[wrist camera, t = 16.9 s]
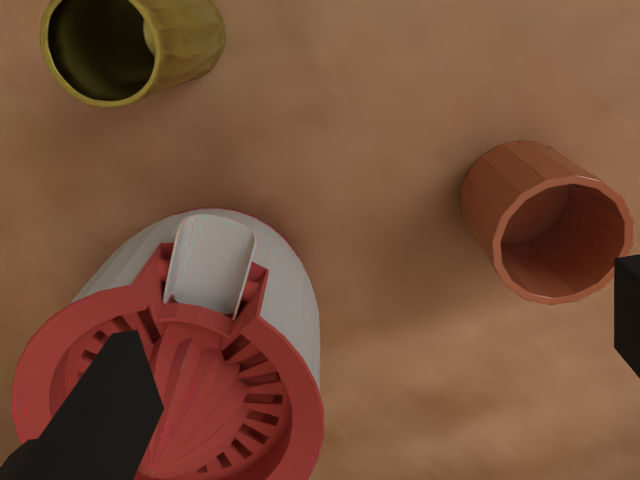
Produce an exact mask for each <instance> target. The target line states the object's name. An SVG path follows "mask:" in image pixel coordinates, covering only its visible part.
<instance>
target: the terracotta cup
mask: <svg viewBox="0 0 640 480" xmlns="http://www.w3.org/2000/svg"><path fill="white" fill-rule="evenodd" d="M460 206H461V212H462V215H463V219H464V220H465V222H466V224H467V226H468V227H469V229H470V231H471V232H472V234H473V236H474V237H475V239H476V241H477V242H478V244H479V245H480V247H481V248H482V250H483V252H484V253H485V255H486V256H487V258H488V259H489V261H490V263H491V264H492V266H493V267H494V269H495V271H496V272H497V274H498V275H499V277H500V278H501V280H502V282H503V283H504V285H505V286H506V287H507V288H509V289H510V290H511V291H513V292H514V293H516V294H517V295H519V296H520V297H522V298H523V299H525V300H528V301H533V302H538V303H543V304H548V305H555V304H562V303H569V302H575V301H579V300H580V299H582V298H584V297H586V296H588V295H590V294H592V293H594V292H596V291H598V290H600V289H602V288H603V287H604V286H605V285H606V284H607V283H608V282H609V281H610V280H611V279H612V278H613V277H614V258H619V257H626V256H628V254H629V252H630V249H631V247H632V244H633V217H632V215H631V213H630V211H629V209H628V207H627V205H626V202H625V200H624V198H623V197H622V195H620V194H619V193H618V192H616V191H615V190H614V189H612V188H611V187H610V186H608V185H607V184H606V183H605V182H603V181H602V180H600V179H599V178H597V177H596V176H594V175H592V174H591V173H589V172H588V171H586V170H585V169H583V168H582V167H580V166H578V165H577V164H575V163H574V162H572V161H571V160H569V159H568V158H566V157H565V156H563V155H561V154H560V153H558V152H557V151H555V150H554V149H552V148H551V147H549V146H545V145H543V144H540V143H536V142H531V141H515V142H510V143H505V144H503V145H500V146H497V147H495V148H493V149H492V150H490V151H488V152H487V153H485V154H484V155H483V156H482V157H481V158H479V159H478V160H477V161H476V163H475V164H474V165H473V166H472V167H471V169H470V170H469V172H468V174H467V175H466V177H465V180H464V182H463V185H462V189H461V195H460Z"/></svg>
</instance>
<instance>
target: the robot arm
mask: <svg viewBox="0 0 640 480" xmlns="http://www.w3.org/2000/svg"><path fill="white" fill-rule="evenodd" d="M614 348H615V349H616V350H617V351H618V353H619V354H620V355H621V356H622V358H623V359H624V360H625V361H626V362H627V364H628V365H629V366H630V367H631V368H632V370H633V371H634V372H635V373H636V375H637V376H638V377H639V378H640V254H639V255H632V256H626V257H619V258H614ZM163 411H164V406H163V403H162V400H161V397H160V395H159V392H158V389H157V386H156V383H155V380H154V377H153V374H152V371H151V368H150V365H149V362H148V359H147V356H146V353H145V350H144V347H143V344H142V341H141V338H140V335H139V332H138V330H131V331H124V332H117V333H112V334H111V335H110V337H109V338H108V340H107V341H106V342H105V344H104V345H103V347H102V348H101V350H100V351H99V352H98V354H97V355H96V357H95V358H94V360H93V361H92V362H91V364H90V365H89V367H88V368H87V369H86V371H85V372H84V374H83V375H82V377H81V378H80V379H79V381H78V382H77V384H76V385H75V387H74V388H73V389H72V391H71V392H70V394H69V395H68V397H67V398H66V399H65V401H64V402H63V404H62V405H61V406H60V408H59V409H58V411H57V412H56V414H55V415H54V416H53V418H52V419H51V421H50V422H49V424H48V425H47V426H46V428H45V429H44V431H43V432H42V434H41V435H40V436H39V438H37V439H29V440H27V441H26V442H25V443H24V444H23V445H21V446H20V447H19V448H18V449H17V450H15V451H14V452H13V453H12V454H11V455H10V456H9V457H8V458H7V459H6V461H5V462H4V463H3V465H2V466H1V467H0V480H133V479H134V477H135V475H136V472H137V470H138V468H139V465H140V463H141V461H142V459H143V456H144V454H145V452H146V449H147V447H148V445H149V443H150V440H151V438H152V436H153V433H154V431H155V429H156V427H157V424H158V422H159V420H160V417H161V415H162V413H163Z"/></svg>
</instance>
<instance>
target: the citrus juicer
mask: <svg viewBox="0 0 640 480" xmlns="http://www.w3.org/2000/svg"><path fill="white" fill-rule="evenodd" d="M131 330H138V332H139V335H140V338H141V341H142V344H143V347H144V350H145V353H146V356H147V359H148V362H149V365H150V368H151V371H152V374H153V377H154V380H155V383H156V386H157V389H158V392H159V395H160V397H161V400H162V403H163V406H164V411H163V413H162V415H161V417H160V420H159V422H158V424H157V427H156V429H155V431H154V433H153V436H152V438H151V440H150V443H149V445H148V447H147V449H146V452H145V454H144V456H143V459H142V461H141V463H140V465H139V468H138V470H137V472H136V475H135V477H134V479H133V480H308V478H309V477H310V474H311V472H312V470H313V468H314V466H315V464H316V462H317V460H318V458H319V455H320V451H321V446H322V442H323V437H324V408H323V404H322V400H321V397H320V393H319V385H320V323H319V312H318V306H317V302H316V298H315V295H314V291H313V288H312V285H311V282H310V279H309V277H308V275H307V273H306V271H305V269H304V266H303V265H302V263H301V261H300V259H299V257H298V255H297V253H296V251H295V250H294V249H293V247H292V246H291V245H290V243H289V242H288V241H287V240H286V238H285V237H283V236H282V235H281V234H280V233H279V232H278V231H277V230H275V229H274V228H273V227H272V226H270V225H269V224H267V223H265V222H264V221H262V220H260V219H258V218H257V217H255V216H252V215H250V214H247V213H244V212H241V211H238V210H233V209H226V208H220V207H206V208H196V209H191V210H187V211H182V212H180V213H177V214H175V215H172V216H170V217H167V218H165V219H163V220H161V221H158V222H156V223H154V224H152V225H150V226H148V227H146V228H145V229H143V230H141V231H140V232H138V233H137V234H136V235H134V236H133V237H131V238H130V239H129V240H127V241H126V242H124V243H123V244H122V245H121V246H120V247H119V248H118V249H117V250H116V251H115V252H114V253H113V254H112V255H111V256H110V257H109V258H108V259H107V260H106V261H105V263H104V264H103V265H102V266H101V267H100V268H99V269H98V270H97V272H96V273H95V274H94V275H93V276H92V277H91V279H90V280H89V281H88V282H87V283H86V284H85V286H84V287H83V288H82V289H81V290H80V291H79V293H78V294H77V295H76V296H75V297H74V298H73V300H72V301H71V302H70V303H69V304H68V305H67V306H66V307H65V308H63V309H62V310H60V311H59V312H57V313H56V314H55V315H53V316H52V317H50V318H49V319H48V320H47V321H46V322H45V323H44V324H43V325H42V326H41V327H40V329H39V330H38V331H37V332H36V333H35V334H34V335H33V336H32V338H31V339H30V340H29V342H28V344H27V345H26V347H25V349H24V351H23V353H22V355H21V357H20V359H19V361H18V363H17V367H16V372H15V377H14V381H13V386H12V416H13V420H14V423H15V427H16V430H17V434H18V438H19V441H20V443H21V444H22V445H23V444H24V443H25V442H26V441H27V440H29V439H37V438H39V436H40V435H41V434H42V432H43V431H44V429H45V428H46V426H47V425H48V424H49V422H50V421H51V419H52V418H53V416H54V415H55V414H56V412H57V411H58V409H59V408H60V406H61V405H62V404H63V402H64V401H65V399H66V398H67V397H68V395H69V394H70V392H71V391H72V389H73V388H74V387H75V385H76V384H77V382H78V381H79V379H80V378H81V377H82V375H83V374H84V372H85V371H86V369H87V368H88V367H89V365H90V364H91V362H92V361H93V360H94V358H95V357H96V355H97V354H98V352H99V351H100V350H101V348H102V347H103V345H104V344H105V342H106V341H107V340H108V338H109V337H110V335H111V334H112V333H117V332H124V331H131Z"/></svg>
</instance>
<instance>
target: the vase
mask: <svg viewBox="0 0 640 480" xmlns="http://www.w3.org/2000/svg"><path fill="white" fill-rule="evenodd" d="M224 41H225V32H224V23H223V20H222V17H221V15H220V13H219V11H218V9H217V7H216V5H215V4H214V2H213V1H212V0H51V2H50V3H49V4H48V6H47V8H46V9H45V11H44V14H43V16H42V21H41V28H40V46H41V50H42V54H43V58H44V61H45V63H46V65H47V67H48V69H49V71H50V73H51V74H52V76H53V78H54V79H55V80H56V81H57V83H58V84H59V85H60V86H61V87H62V88H63V89H64V90H65V91H66V92H67V93H69V94H70V95H71V96H73V97H74V98H76V99H77V100H79V101H81V102H83V103H85V104H87V105H90V106H95V107H101V108H118V107H122V106H125V105H129V104H132V103H135V102H137V101H139V100H141V99H143V98H145V97H147V96H149V95H151V94H154V93H157V92H159V91H162V90H164V89H167V88H169V87H172V86H174V85H176V84H179V83H182V82H185V81H188V80H193V79H196V78H199V77H201V76H203V75H204V74H206V73H207V72H209V71H210V70H211V69H212V68H213V67H214V65H215V64H216V63H217V61H218V59H219V58H220V56H221V53H222V50H223V47H224Z"/></svg>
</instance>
